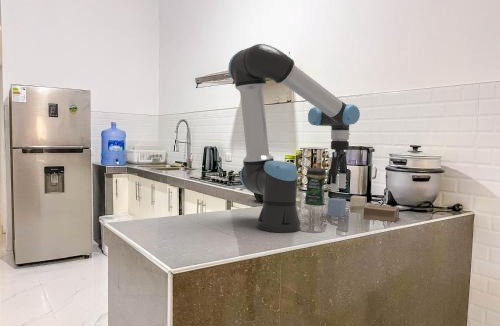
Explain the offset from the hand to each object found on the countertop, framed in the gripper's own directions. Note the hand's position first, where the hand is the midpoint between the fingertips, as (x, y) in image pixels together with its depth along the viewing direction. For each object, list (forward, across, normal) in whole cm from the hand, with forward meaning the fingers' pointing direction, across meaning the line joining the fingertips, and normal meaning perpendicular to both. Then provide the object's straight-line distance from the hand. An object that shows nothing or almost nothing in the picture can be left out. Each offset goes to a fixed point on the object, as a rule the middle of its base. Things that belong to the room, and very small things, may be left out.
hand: (338, 189), depth 168 cm
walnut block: (+12, +4, -18) cm, 21 cm away
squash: (+11, +14, +40) cm, 44 cm away
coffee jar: (+11, +24, +18) cm, 33 cm away
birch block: (+11, +14, -6) cm, 19 cm away
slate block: (+11, 0, 0) cm, 11 cm away
